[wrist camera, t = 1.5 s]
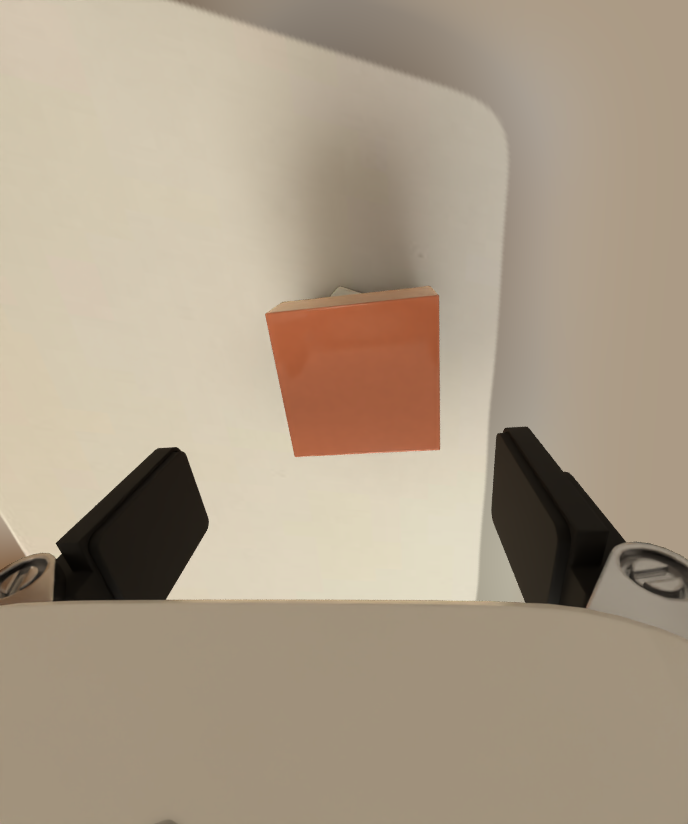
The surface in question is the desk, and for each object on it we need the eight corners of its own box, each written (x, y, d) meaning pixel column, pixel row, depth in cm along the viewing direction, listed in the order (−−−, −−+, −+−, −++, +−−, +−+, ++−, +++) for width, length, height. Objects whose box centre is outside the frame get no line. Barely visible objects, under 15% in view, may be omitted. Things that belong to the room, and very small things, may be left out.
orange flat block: (430, 285, 17) (439, 295, 15) (432, 422, 21) (440, 450, 18) (281, 301, 18) (264, 313, 16) (305, 429, 22) (294, 457, 19)
